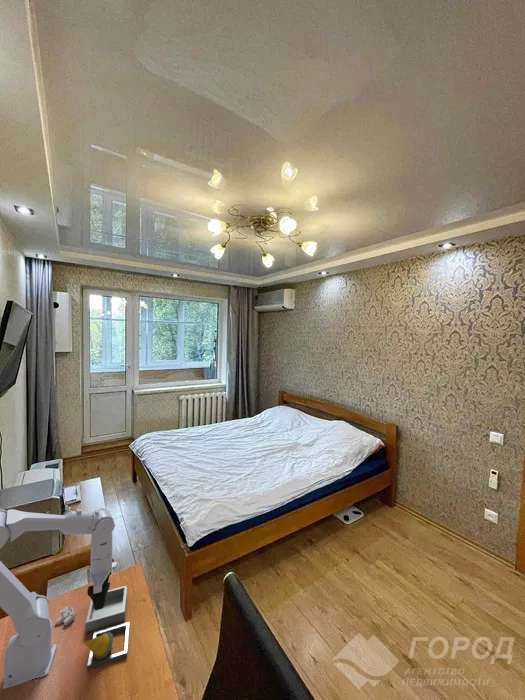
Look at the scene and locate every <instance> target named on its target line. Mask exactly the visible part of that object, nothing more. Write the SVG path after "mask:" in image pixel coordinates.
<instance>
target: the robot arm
mask: <svg viewBox="0 0 525 700" xmlns="http://www.w3.org/2000/svg"><path fill="white" fill-rule="evenodd" d="M115 528H116V523H115V520H114V519H113V516H112V514H111V513H110V511H109V510H108V509H107V508H98V509H96V510H94V511H86V510H85V511H83V510H82V509H81V508H76V510H70V511H68V512H67V513H66V514H61V515H60V514H53V513H43V512H42V513H41V512H29V511H28V512H27V511H21V510H17V509H15V508H14V509H13V508H12V509H7V510H5V509H0V550H1V549H2V548H3V547H4V546H5V544H6V543H7V542H8V539H9V538H10V542H14V540H16V539H17V538H19V537H20V536H21V535H23V534H24V533H25V532H37V531H55V530H60V531H61V533H62V535H91V536H90V537H91V539H90V569H89V576H90V578H91V582H92V584H93V585H90V586H88V588H87V596H88V597H90V600H91V599H92V601H93V605H94V608H95V610H99V609H103V607H104V603H105V597H106V594H107V592H108V590H110V586H111V582H109V580H110V574H111V572H112V570H114V569H116V568H117V564H118V563H117V562H116V561H115V559H114V558H113V531H114V529H115ZM49 602H50V601H49V598H48V596H45V595H41V594H38V593H37V592H36V591H32V592H30V591H29V590H28V589H27V587H26V586H25V585H24V584H23V583H22V582H21V581H20V580H19V579H18V578H17V577H16V576H15V575H14V574H13V573H12V572H11V571H10V569H9V568H8V567H6V565H5V564H4V563H3V562H2V561H1V560H0V608H1V609H2V610H3V611H4V612H5V613H6V614H7V615H8V616H9V617H10V618H11V621H12V624H13V627H14V630H15V632H16V633H17V634H15V635H13V636H12V637H10V639H9V641H8V643H7V646H6V648H5V649H6V650H5V653H4V658H3V684H2V689H3V690H5V689H8V688H11V687H15V686H17V685H21V684H24V682H25V683H28V682H30V681H29V680H31V681H33V680H32V679H34V680H36V679H35V678H37V679H39V677H40V678H42V677H45V676H47V675H48V674H49V672H50V669H51V665H52V662H53V659H54V657H55V653H56V650H57V646H58V645H57V644H55V643H54V644H52V634H53V633H52V631H53V629H52V626H53V625H52V623H53V622H52V620H51V618H50V611H49V604H50V603H49ZM27 681H28V682H27Z"/></svg>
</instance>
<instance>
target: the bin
mask: <svg viewBox="0 0 525 700" xmlns="http://www.w3.org/2000/svg"><path fill="white" fill-rule="evenodd" d="M127 600H128V585H127V584H126V585H124V586H120V587H115V588H112V589H109V590H108V592H107V594H106V597H105V603H104V607H103V609H99V610H95V608H94V605H93V601H92V599H91V598H90V603H89V607H88V610H87V616H86V620H85V631H84V632H85V634H90V633H92V632H93V633H94V632H97V631H100V630H104V629H107V628H110V627H114V626H117V625H120V624H123V623H126V621H125V620H126V613H127Z"/></svg>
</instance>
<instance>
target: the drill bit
mask: <svg viewBox="0 0 525 700" xmlns="http://www.w3.org/2000/svg"><path fill="white" fill-rule="evenodd" d="M113 642H114V636H113V634H112V633H110V632H105V633H103V634H102V635H101V636H99V637H96V638H94V639H93V638H91V639H88V640H87V641H85V642H84V645H85V646H86V647H87V648H88V649H89V651H90V650H91V651H92V652H93V653H94V654H93V657H94V658H95V660H98V659H101V658H104V657H107V656H108V654H109V653H110V651H111V650H113V649H114V648H113V647H114V646H113Z"/></svg>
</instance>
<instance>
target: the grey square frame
mask: <svg viewBox="0 0 525 700" xmlns="http://www.w3.org/2000/svg"><path fill="white" fill-rule="evenodd" d="M124 631H125V635H124V636H125V637H124V647H123V649H124V650H123V651H119V652H117V653H114V654H111V655H110V654H109V655H107V656H106V657H104V658H101V659H95V660H93V659H94V653H93V652H92V651H91V650H90V649H89V655H88V661H87V664H86V665H87V667H86V669H87V671H89V670H91V669H94V668H97V667H101V666H105V665H108V664H110V663H114V662H117V661H119V660H122V659H126V658H128V651H129V636H130V621H128V622H125V623H122V624H118V625H115V626H111V627H108V628H104V629H100V630H97V631H93V635H92V639H94V638H96V637H99V636H101V635H102V634H103V633H105V632H110V633H112V635H114V634H117V633H121V632H124Z"/></svg>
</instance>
